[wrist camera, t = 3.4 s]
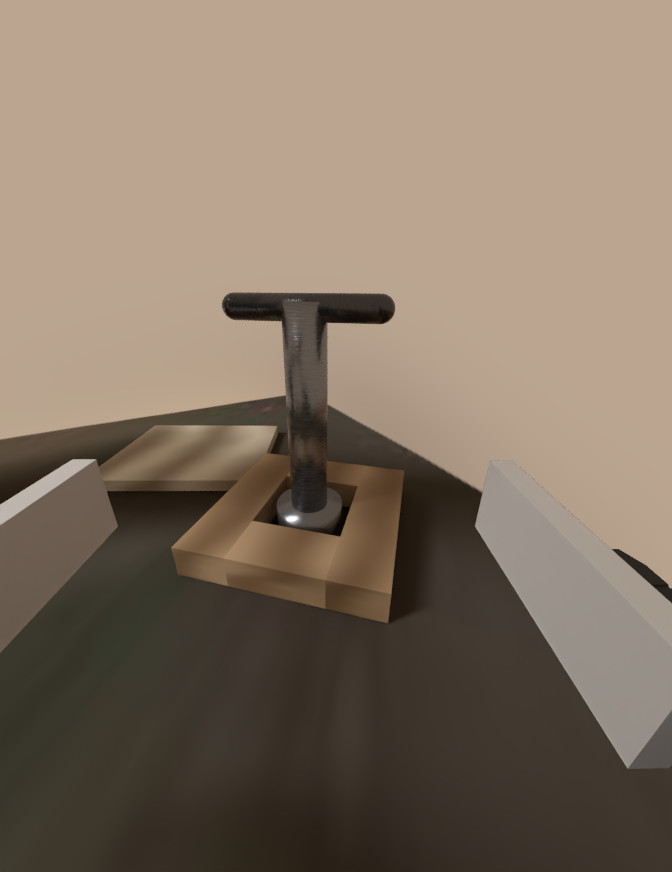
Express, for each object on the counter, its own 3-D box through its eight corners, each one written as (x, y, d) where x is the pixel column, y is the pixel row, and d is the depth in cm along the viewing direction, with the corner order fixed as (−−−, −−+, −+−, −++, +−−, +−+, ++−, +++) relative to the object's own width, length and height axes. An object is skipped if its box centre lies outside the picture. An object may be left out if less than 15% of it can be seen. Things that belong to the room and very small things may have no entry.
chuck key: (233, 534, 21) (197, 291, 15) (262, 498, 25) (242, 293, 19) (372, 561, 19) (392, 293, 13) (380, 517, 23) (399, 294, 17)
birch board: (83, 490, 26) (79, 480, 26) (157, 433, 37) (155, 425, 37) (256, 490, 26) (255, 480, 26) (277, 433, 37) (277, 425, 37)
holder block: (178, 574, 18) (171, 547, 17) (268, 472, 29) (266, 453, 28) (388, 623, 16) (391, 594, 15) (402, 491, 26) (404, 470, 26)
